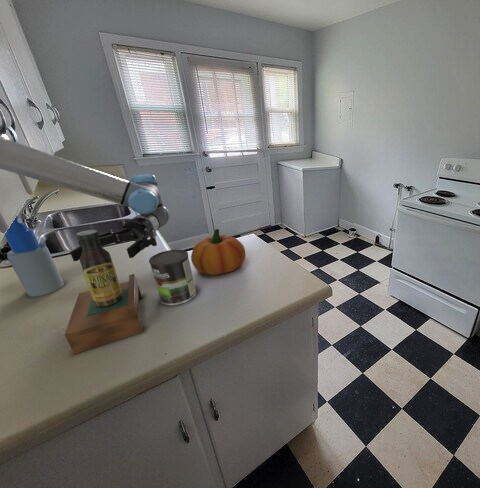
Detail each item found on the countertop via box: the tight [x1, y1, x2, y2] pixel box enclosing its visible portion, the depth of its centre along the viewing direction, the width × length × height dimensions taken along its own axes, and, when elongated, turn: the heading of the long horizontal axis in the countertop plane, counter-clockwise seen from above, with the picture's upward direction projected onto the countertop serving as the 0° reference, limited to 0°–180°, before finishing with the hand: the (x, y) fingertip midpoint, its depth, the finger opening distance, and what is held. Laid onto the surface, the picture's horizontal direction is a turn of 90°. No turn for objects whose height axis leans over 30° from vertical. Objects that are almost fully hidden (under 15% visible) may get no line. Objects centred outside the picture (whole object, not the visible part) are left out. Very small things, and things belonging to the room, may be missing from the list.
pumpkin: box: [190, 228, 247, 276], centre depth 101 cm, size 19×19×15 cm
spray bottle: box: [3, 215, 65, 297], centre depth 85 cm, size 9×9×25 cm
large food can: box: [148, 249, 197, 307], centre depth 83 cm, size 10×10×14 cm
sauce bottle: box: [75, 229, 122, 307], centre depth 69 cm, size 6×6×20 cm
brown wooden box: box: [64, 273, 144, 355], centre depth 74 cm, size 14×20×8 cm
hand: (101, 255), depth 71 cm, fingers open, 13 cm apart
